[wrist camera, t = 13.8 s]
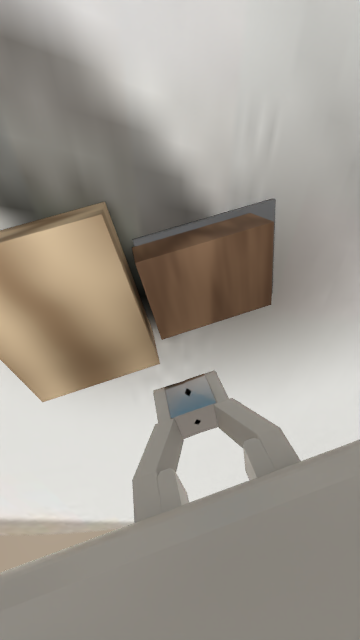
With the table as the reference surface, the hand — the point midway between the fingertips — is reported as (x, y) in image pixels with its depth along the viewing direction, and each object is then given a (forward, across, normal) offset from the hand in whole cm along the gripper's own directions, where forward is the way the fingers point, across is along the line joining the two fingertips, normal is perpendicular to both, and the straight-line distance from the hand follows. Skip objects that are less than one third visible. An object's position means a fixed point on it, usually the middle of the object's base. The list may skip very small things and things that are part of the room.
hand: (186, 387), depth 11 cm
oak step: (+12, +6, -1) cm, 14 cm away
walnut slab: (+10, +1, 0) cm, 10 cm away
